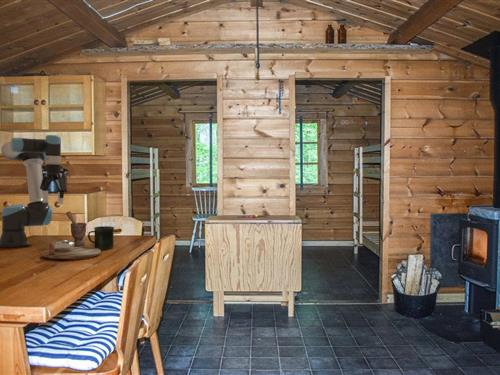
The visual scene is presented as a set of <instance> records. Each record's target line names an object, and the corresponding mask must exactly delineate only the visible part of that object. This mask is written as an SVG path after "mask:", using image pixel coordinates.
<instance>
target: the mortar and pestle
mask: <svg viewBox="0 0 500 375" xmlns="http://www.w3.org/2000/svg"><path fill="white" fill-rule="evenodd" d="M65 213H66V216H67V218H68V219H69V220H70V222H71V223H70V233H71V237H72V238H73V239H74V241H73V242H74V247H85V245H86V242H85V241H84V240H83V238H84V237H85V236H86V234H87V223H86V222H77V221H76V220H75V218H74V216H73V214H72V212H71V211H67V212H65Z"/></svg>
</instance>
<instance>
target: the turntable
mask: <svg viewBox="0 0 500 375" xmlns="http://www.w3.org/2000/svg"><path fill="white" fill-rule="evenodd" d="M54 243H55V242H49V243H48V250H45V251H44V252H43V253H42V256H43V257H44V258H46V259H47V258H48V259H54V260H73V259H74V260H76V259H78V260H79V259H85V258H92V257H95V256H99V255H101V253H102V251H101V250H102V249H97V248H95V247H89V246H74V250H73V251H68V252H56V251H54Z"/></svg>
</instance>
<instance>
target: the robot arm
mask: <svg viewBox="0 0 500 375" xmlns="http://www.w3.org/2000/svg"><path fill="white" fill-rule="evenodd" d="M61 140H62V139H61V135H58V134H57V135H55V134H47V135H46V136H45V139H44V138H42V139H41V138H26V137H25V138H24V137H12V138H11V139H10V141H7V142H5V143H4V144H2V146H1V153H2V155H3V156H4V157H5V158H7V159H9V160H12V161H21V162H22V164H23V166H25V170H26V179H27V180H26V181H27V190H28V201H29V202H28V203H27V205H25V204H23V203H21V204H13V205H8V206H4V207H3V208H2V209H1V210H2V211H1V235H0V247H1V248H16V247H18V248H19V247H24V246H28V244H29V239H28V238H27V234H26V232H25V228H26V227H39V226H40V227H43V226H48V225H50V224H51V222H52V220H53V207H52V206H51V205H49V187H50V186H51V183H52V182H54V184H55V186H56V188H57V190H58V191H57V204H58V205H64V192H66V191H67V190H68V189H67V186H66V183H65V179H64V173H63V172H62V173H60V171H61V168H62V167H61V162H62V161H61V160H62V159H61V158H62V157H61V156H62V155H61V154H62V148H61V147H62V141H61ZM44 162H45V166H44V167H45V172H43V170H42V165H43V164H44Z"/></svg>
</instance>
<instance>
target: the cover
mask: <svg viewBox="0 0 500 375" xmlns="http://www.w3.org/2000/svg"><path fill="white" fill-rule="evenodd" d="M53 243H54V251H56V252H68V251H73V250H74V247H75V246H74V241H72V240H71V241H70V240H67V239H65V240H63V239H61V241H56V242H53Z"/></svg>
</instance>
